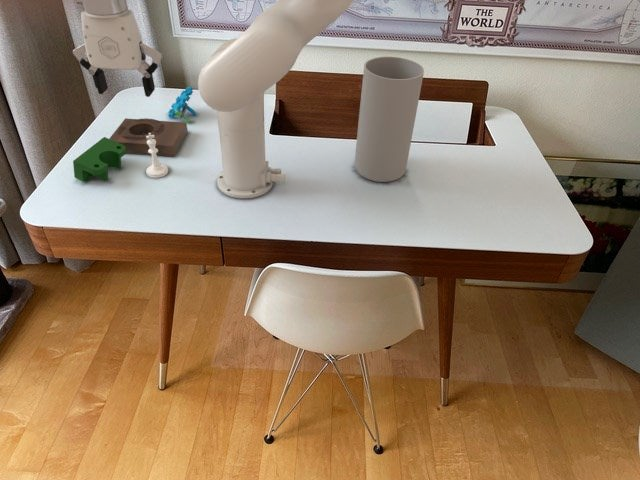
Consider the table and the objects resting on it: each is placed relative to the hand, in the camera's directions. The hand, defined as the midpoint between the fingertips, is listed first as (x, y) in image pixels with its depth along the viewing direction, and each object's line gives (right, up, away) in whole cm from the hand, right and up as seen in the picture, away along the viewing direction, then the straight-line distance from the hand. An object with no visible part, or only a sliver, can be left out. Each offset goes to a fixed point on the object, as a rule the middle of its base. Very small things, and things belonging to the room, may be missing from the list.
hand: (126, 92), depth 101 cm
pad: (-3, -6, +23) cm, 24 cm away
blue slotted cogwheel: (+2, +4, +34) cm, 34 cm away
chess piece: (+2, -15, +13) cm, 20 cm away
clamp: (-10, -15, +12) cm, 21 cm away
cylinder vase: (+54, -13, +18) cm, 59 cm away
